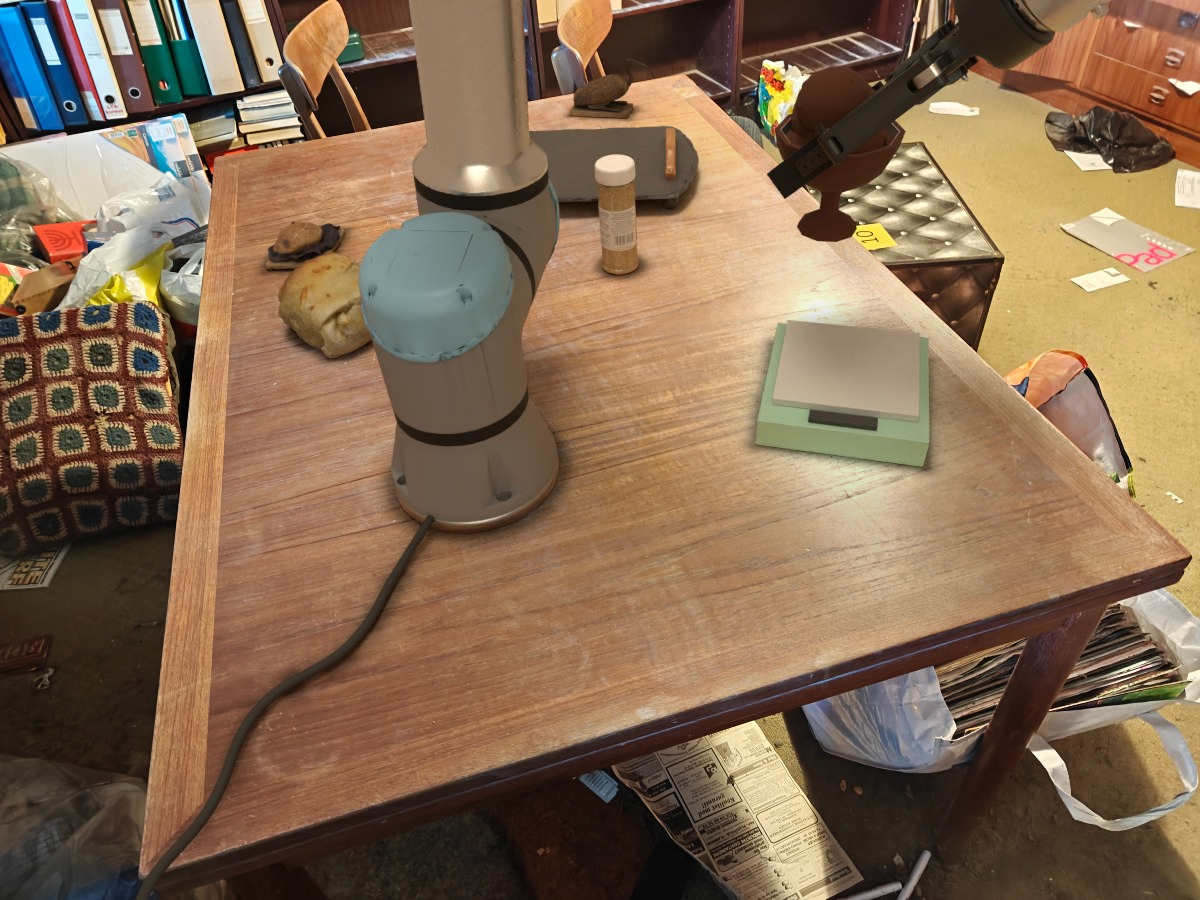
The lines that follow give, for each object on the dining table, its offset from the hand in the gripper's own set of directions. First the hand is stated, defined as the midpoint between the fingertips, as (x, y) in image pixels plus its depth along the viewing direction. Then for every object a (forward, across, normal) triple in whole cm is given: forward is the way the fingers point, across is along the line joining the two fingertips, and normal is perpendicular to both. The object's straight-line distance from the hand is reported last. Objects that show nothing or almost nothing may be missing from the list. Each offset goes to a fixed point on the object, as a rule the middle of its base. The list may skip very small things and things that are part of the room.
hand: (806, 159), depth 78 cm
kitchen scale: (+8, -7, -21) cm, 23 cm away
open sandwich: (+59, -13, +30) cm, 67 cm away
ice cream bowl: (+3, 0, -6) cm, 7 cm away
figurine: (+51, +44, +22) cm, 71 cm away
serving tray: (+46, +20, +17) cm, 53 cm away
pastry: (+47, -23, +18) cm, 55 cm away
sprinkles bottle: (+32, +4, +3) cm, 32 cm away
